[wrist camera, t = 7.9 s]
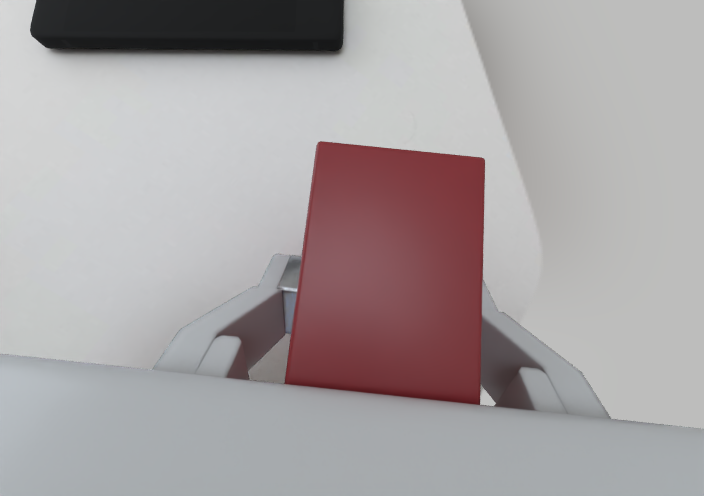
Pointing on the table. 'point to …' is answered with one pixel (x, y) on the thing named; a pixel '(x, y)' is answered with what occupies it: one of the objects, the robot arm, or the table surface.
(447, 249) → the upright red rectangular block
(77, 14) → the cell phone
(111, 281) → the table surface
